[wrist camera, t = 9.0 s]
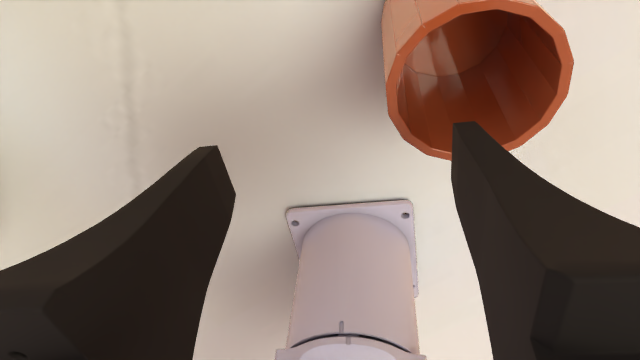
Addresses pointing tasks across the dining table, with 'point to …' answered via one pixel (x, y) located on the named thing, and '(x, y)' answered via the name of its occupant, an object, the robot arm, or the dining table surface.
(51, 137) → the dining table surface
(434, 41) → the cup
